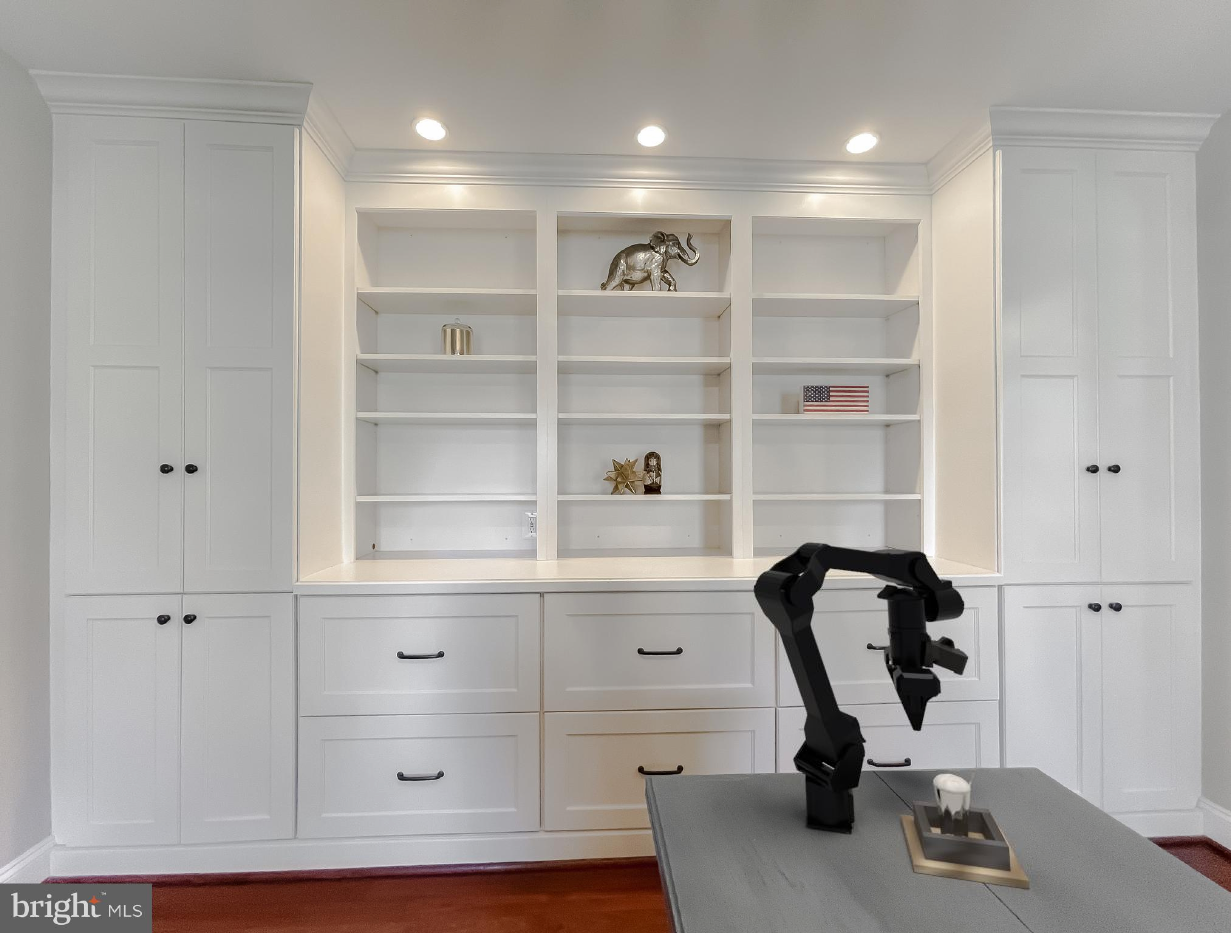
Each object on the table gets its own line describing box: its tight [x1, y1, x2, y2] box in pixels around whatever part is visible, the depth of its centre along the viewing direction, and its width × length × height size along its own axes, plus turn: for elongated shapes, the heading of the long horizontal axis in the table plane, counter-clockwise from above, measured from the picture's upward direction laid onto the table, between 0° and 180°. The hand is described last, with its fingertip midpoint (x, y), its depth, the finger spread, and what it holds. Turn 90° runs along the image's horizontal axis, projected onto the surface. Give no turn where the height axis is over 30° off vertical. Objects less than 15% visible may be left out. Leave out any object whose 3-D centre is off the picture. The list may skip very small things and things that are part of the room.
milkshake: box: [932, 771, 976, 837], centre depth 84 cm, size 4×5×10 cm
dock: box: [900, 800, 1030, 890], centre depth 84 cm, size 13×13×4 cm
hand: (912, 720), depth 100 cm, fingers open, 9 cm apart
